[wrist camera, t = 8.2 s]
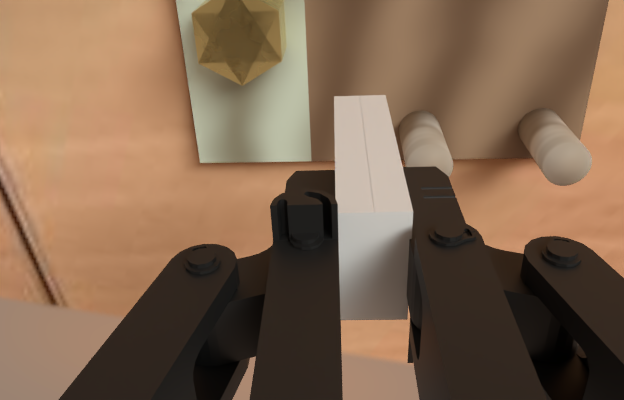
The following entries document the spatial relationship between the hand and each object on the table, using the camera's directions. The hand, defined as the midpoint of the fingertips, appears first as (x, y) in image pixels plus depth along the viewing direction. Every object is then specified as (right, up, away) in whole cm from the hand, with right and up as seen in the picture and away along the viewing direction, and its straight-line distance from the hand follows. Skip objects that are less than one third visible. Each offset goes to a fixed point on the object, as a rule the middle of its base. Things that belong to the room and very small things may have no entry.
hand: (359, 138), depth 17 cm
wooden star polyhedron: (-5, +8, +15) cm, 17 cm away
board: (+3, +9, +15) cm, 18 cm away
